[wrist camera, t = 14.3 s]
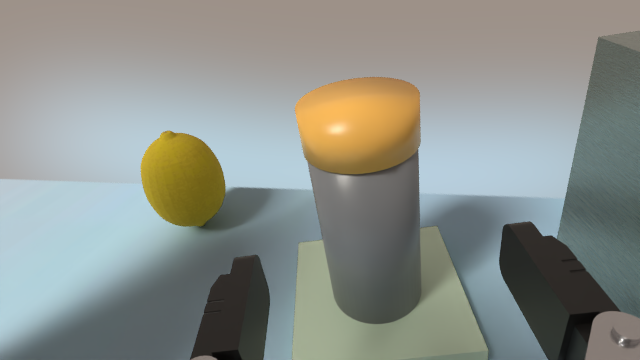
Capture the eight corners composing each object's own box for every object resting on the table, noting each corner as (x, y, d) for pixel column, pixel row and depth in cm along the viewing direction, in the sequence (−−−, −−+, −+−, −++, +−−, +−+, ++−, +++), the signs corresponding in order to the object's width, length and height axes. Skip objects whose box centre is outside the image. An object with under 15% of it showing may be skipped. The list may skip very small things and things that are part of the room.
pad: (294, 380, 19) (291, 369, 19) (300, 251, 27) (298, 242, 26) (487, 361, 18) (488, 350, 18) (437, 235, 26) (437, 225, 26)
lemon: (201, 199, 34) (169, 112, 30) (250, 211, 32) (222, 118, 27) (150, 239, 30) (105, 146, 26) (202, 256, 28) (161, 156, 24)
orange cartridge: (332, 330, 20) (291, 134, 14) (330, 260, 24) (297, 86, 18) (433, 320, 20) (433, 115, 14) (412, 250, 24) (406, 70, 18)
